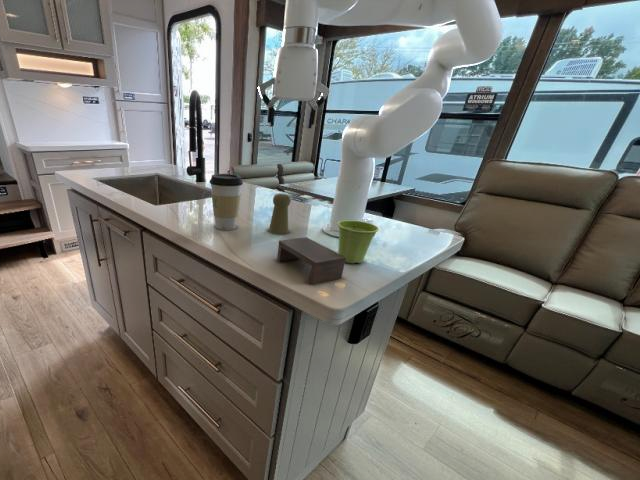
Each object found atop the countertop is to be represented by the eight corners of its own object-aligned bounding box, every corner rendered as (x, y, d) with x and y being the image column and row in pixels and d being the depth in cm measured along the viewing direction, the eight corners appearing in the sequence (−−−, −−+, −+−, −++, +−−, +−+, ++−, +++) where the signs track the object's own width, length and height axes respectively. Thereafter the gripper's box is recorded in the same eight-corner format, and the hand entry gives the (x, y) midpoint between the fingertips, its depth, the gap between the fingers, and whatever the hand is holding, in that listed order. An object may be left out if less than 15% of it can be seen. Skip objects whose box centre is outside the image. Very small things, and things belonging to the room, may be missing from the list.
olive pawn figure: (287, 234, 94) (292, 197, 89) (267, 232, 95) (270, 195, 90) (288, 229, 100) (293, 193, 94) (270, 227, 100) (273, 191, 95)
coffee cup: (222, 220, 105) (223, 172, 97) (247, 226, 100) (249, 176, 92) (203, 227, 98) (202, 175, 90) (228, 233, 93) (229, 180, 85)
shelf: (303, 256, 80) (306, 237, 78) (341, 278, 69) (346, 257, 67) (276, 260, 77) (278, 240, 74) (312, 284, 66) (315, 262, 64)
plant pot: (336, 249, 85) (343, 217, 81) (372, 257, 81) (382, 224, 77) (326, 260, 78) (333, 226, 74) (365, 270, 74) (375, 234, 70)
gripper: (331, 47, 75) (319, 128, 84) (259, 42, 74) (254, 125, 83) (341, 40, 69) (327, 129, 77) (263, 35, 68) (257, 126, 76)
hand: (289, 127), depth 80 cm, fingers open, 9 cm apart
